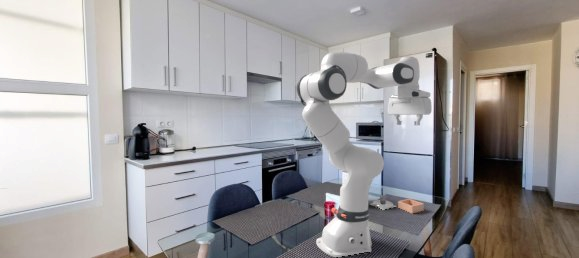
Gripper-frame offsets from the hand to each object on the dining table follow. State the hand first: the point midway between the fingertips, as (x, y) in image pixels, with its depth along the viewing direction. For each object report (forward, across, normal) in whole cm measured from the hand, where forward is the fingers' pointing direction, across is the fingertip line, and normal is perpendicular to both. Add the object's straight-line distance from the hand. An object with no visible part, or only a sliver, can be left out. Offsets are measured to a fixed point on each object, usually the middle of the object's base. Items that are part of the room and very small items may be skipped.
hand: (407, 125), depth 115 cm
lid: (+46, -24, +12) cm, 53 cm away
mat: (+47, -24, +12) cm, 54 cm away
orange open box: (+47, -12, +20) cm, 53 cm away
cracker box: (+47, -35, 0) cm, 59 cm away
